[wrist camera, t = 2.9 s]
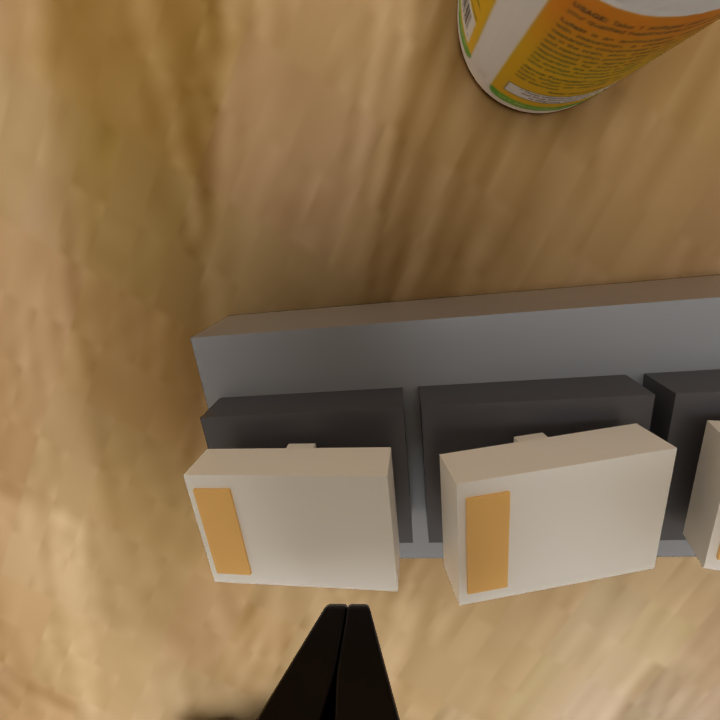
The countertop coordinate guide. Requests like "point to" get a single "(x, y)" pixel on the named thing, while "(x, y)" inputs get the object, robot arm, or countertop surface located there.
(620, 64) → the supplement bottle
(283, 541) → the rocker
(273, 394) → the rocker switch strip
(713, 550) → the block
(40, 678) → the countertop surface
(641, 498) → the middle rocker
